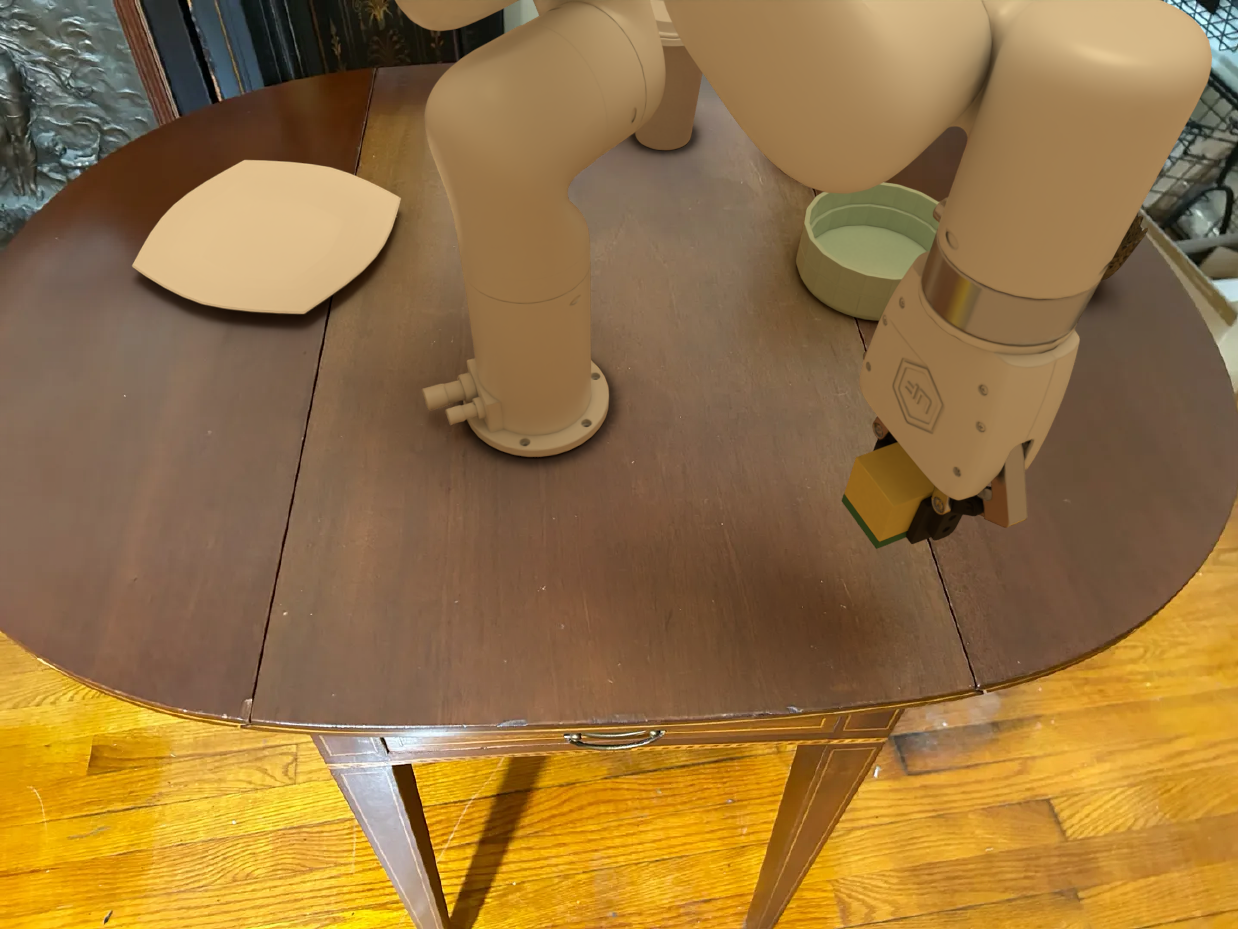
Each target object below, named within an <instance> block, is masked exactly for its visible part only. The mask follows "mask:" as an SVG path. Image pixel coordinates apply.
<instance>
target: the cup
mask: <svg viewBox="0 0 1238 929" xmlns="http://www.w3.org/2000/svg"><path fill="white" fill-rule="evenodd" d="M1143 220H1144V215H1139V212H1138V213H1137V215H1136V217H1135V218H1134V220H1133V222H1132V224H1131V225H1130V227H1129V229H1128V231H1127V233H1126V234H1125V236H1124V238H1123V240H1122V242H1121V244H1120V245H1119V247H1118V249H1117V251H1116V253H1115V255H1114V257H1113V259H1112V261H1111V262H1110V264H1109V266H1108V268H1107V269H1106V271H1105V273H1104V274H1103V277H1102V279H1101V281H1100V282H1103V281H1105V280H1107V279H1109V278H1110V277H1112V276H1113V275H1115V274H1116V273H1117V272H1118V271H1119V270H1120V268H1121V267H1122V266H1123V265H1124V264H1125V263H1126V261H1127V260H1128V259H1129V258H1130V256H1132V254H1133V252H1134V251H1135V250H1136V248H1137V247H1138V246H1139V244H1140V243H1141V242H1142V240H1143V239H1144V238H1145V237H1146V234H1147V233H1148V231H1149V227H1144V228H1143V227H1142V226H1141V225H1142V222H1143Z"/></svg>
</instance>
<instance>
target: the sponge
mask: <svg viewBox="0 0 1238 929" xmlns="http://www.w3.org/2000/svg"><path fill="white" fill-rule="evenodd" d="M933 489H934V484H933V483H932V482H931V481H930V480H929V479H928V478H927V476H926V475H925V474H924V473H923V472H922V471H921V469H920V468H919V467H918V466H917V465H916V463H915V462H914V461H913V460H912V458H911V457H910V456H909V455H908V454H907V452H906V451H905V450H904V449H903V447H902V446H901V445H900V444H899V443H898V442H897V443H894V444H891V445H888V446H886V447H883V448H880V449H877V450H875V451H873V450H872V451H869V452H867V453H866V452H865V453H863V454H861V455H858V456H856V457H855V459H854V462H853V465H852V468H851V471H850V474H849V477H848V480H847V483H846V487H845V489H844V493H843V495H842V497H841V502H842V504H843V505H844V507H845V508H846V510H847V511H848V512H849V514H850V515H851V516H852V518H853V519H854V521H855V522H856V524H857V525H858V527H859V528H860V529H861V530H862V532H863V533H864V535H865V536H866V537H867V539H868V540H869V541H870V543H871V544H872V546H873V547H874V548H875V549H876V550H878V549H880V548H883V547H885V546H888V545H890V544H893V543H895V542H898V541H901V540H903V539H907V538H906V535H907V531H908V529H909V527H910V525H911V523H912V520H913V518H914V516H915V514H916V512H917V510H918V507H919V505H920V503H921V501H922V500H924V499H925V498H928V497H930V496H932V494H933Z"/></svg>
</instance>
